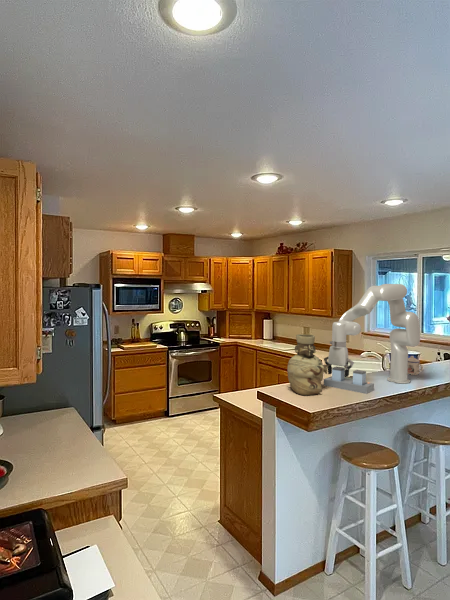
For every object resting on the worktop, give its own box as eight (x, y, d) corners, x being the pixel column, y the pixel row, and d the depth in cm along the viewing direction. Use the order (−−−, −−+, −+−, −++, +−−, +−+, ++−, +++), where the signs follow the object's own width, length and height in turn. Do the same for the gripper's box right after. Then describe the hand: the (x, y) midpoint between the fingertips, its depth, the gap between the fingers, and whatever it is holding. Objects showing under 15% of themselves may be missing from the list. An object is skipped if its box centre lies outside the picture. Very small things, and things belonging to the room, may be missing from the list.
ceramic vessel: (327, 398, 199) (329, 338, 198) (285, 394, 205) (286, 336, 203) (327, 388, 218) (328, 334, 217) (288, 385, 223) (289, 332, 222)
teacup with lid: (401, 373, 260) (401, 355, 260) (409, 371, 265) (409, 354, 265) (418, 376, 250) (419, 358, 250) (426, 375, 255) (427, 357, 255)
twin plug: (356, 388, 214) (356, 369, 214) (365, 389, 211) (366, 371, 211) (352, 389, 211) (353, 371, 210) (361, 391, 207) (362, 372, 207)
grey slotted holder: (331, 384, 226) (332, 375, 226) (373, 392, 211) (374, 383, 210) (323, 388, 219) (323, 378, 219) (366, 396, 203) (366, 386, 203)
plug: (335, 384, 222) (336, 366, 222) (344, 385, 219) (344, 367, 219) (331, 385, 218) (332, 367, 218) (340, 387, 215) (340, 369, 215)
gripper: (321, 343, 221) (320, 373, 221) (351, 347, 209) (350, 379, 210) (327, 342, 226) (326, 371, 227) (357, 345, 215) (356, 376, 216)
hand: (338, 375), depth 218 cm, fingers open, 9 cm apart
